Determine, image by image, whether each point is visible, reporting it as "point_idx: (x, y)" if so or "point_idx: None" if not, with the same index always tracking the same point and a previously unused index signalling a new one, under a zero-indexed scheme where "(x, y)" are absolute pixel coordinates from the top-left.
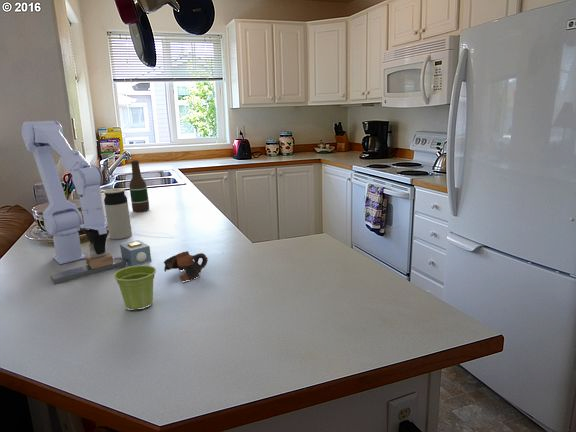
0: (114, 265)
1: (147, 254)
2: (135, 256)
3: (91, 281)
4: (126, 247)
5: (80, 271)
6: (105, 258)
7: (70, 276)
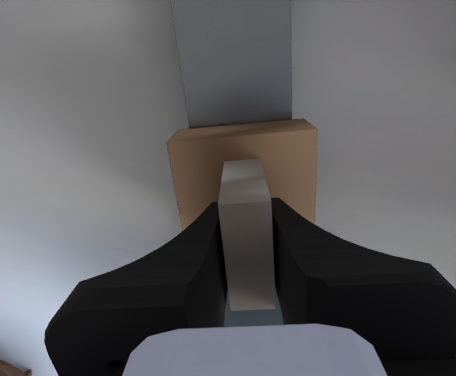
0: None
1: None
2: None
3: (90, 94)
4: None
5: (200, 60)
6: (183, 223)
7: None
